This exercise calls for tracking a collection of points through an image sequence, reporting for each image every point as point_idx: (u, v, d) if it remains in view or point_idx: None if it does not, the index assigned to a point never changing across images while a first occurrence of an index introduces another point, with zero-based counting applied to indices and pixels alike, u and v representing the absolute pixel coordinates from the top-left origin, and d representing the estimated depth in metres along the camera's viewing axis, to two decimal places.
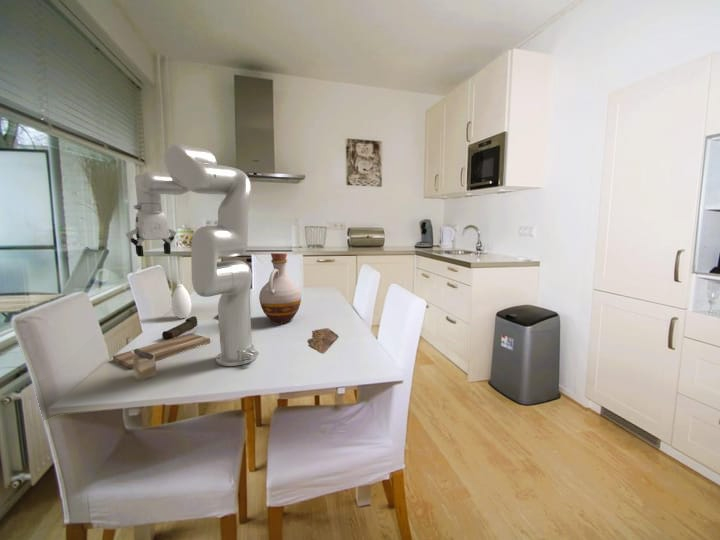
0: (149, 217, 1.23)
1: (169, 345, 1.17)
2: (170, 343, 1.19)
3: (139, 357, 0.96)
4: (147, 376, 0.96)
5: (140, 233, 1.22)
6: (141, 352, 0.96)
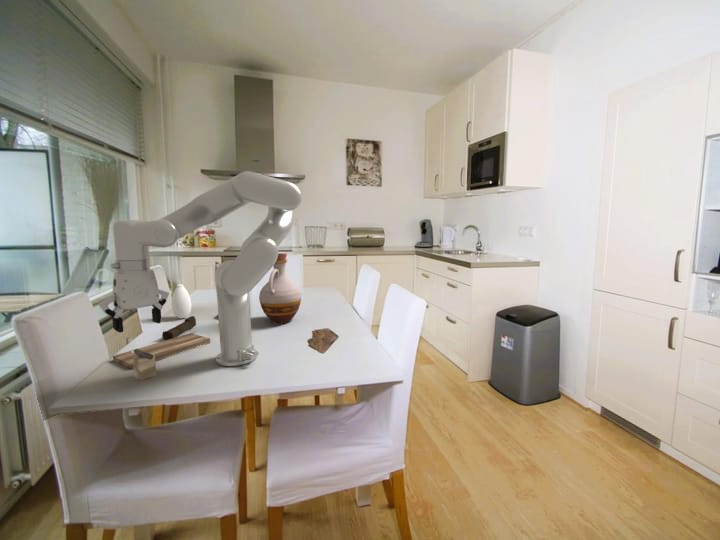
0: (132, 279, 0.90)
1: (169, 345, 1.17)
2: (170, 343, 1.19)
3: (139, 357, 0.96)
4: (147, 376, 0.96)
5: (119, 302, 0.89)
6: (141, 352, 0.96)
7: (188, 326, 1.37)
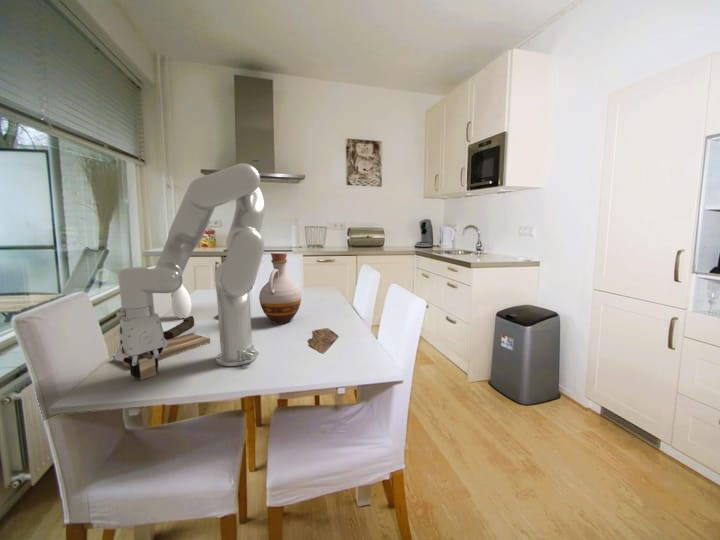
0: (137, 325, 0.92)
1: (169, 345, 1.17)
2: (170, 343, 1.19)
3: (139, 357, 0.96)
4: (147, 376, 0.96)
5: (125, 349, 0.91)
6: None
7: (187, 326, 1.37)
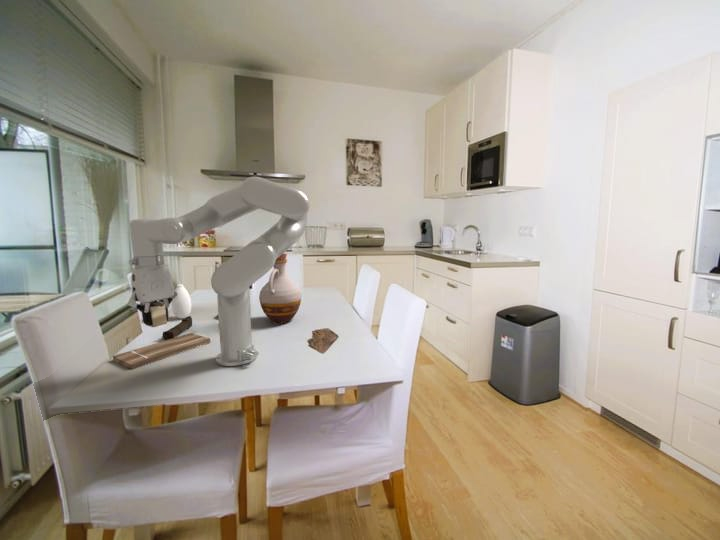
0: (149, 273, 0.97)
1: (169, 345, 1.17)
2: (170, 343, 1.19)
3: (150, 306, 1.00)
4: (158, 323, 1.01)
5: (138, 295, 0.95)
6: None
7: (186, 326, 1.37)
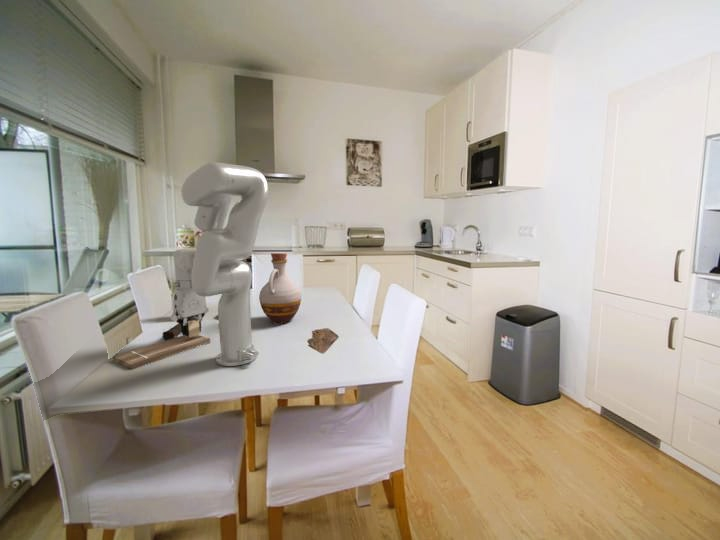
0: (188, 294, 1.19)
1: (169, 345, 1.17)
2: (170, 343, 1.19)
3: (187, 319, 1.22)
4: (193, 334, 1.23)
5: (179, 312, 1.17)
6: None
7: None
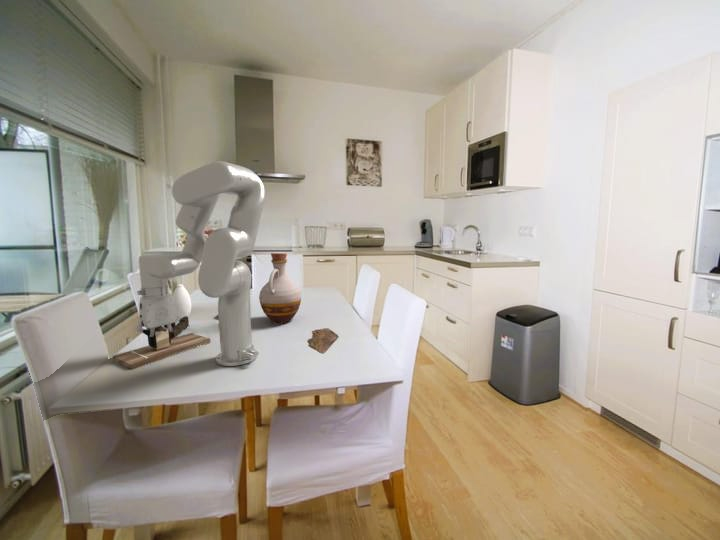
0: (154, 302, 1.09)
1: None
2: (170, 343, 1.19)
3: (155, 330, 1.13)
4: (162, 346, 1.13)
5: (144, 322, 1.08)
6: None
7: (184, 326, 1.37)
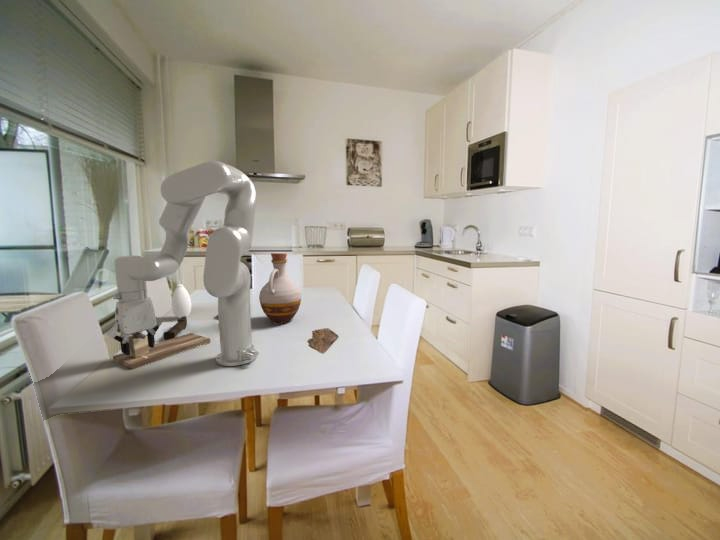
0: (132, 307, 1.04)
1: (169, 345, 1.17)
2: (170, 343, 1.19)
3: (133, 337, 1.07)
4: (140, 354, 1.07)
5: (121, 328, 1.02)
6: None
7: (183, 326, 1.37)
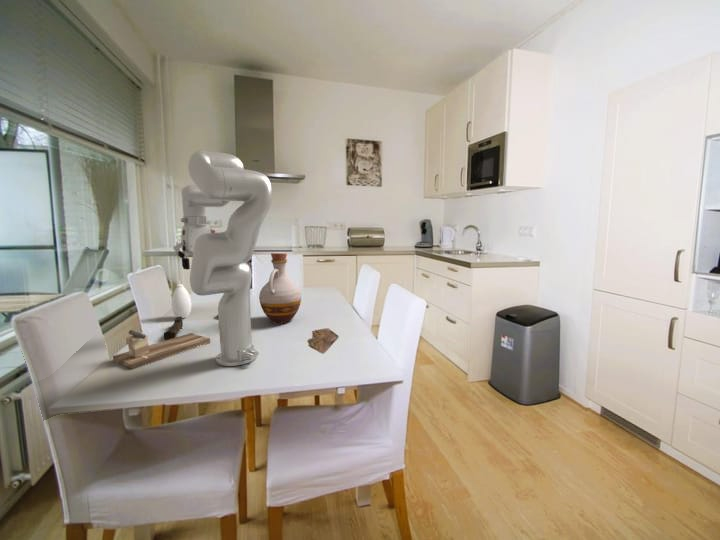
0: (195, 230, 1.23)
1: (169, 345, 1.17)
2: (170, 343, 1.19)
3: (133, 337, 1.07)
4: (140, 354, 1.07)
5: (187, 246, 1.22)
6: (135, 332, 1.08)
7: (180, 326, 1.37)
